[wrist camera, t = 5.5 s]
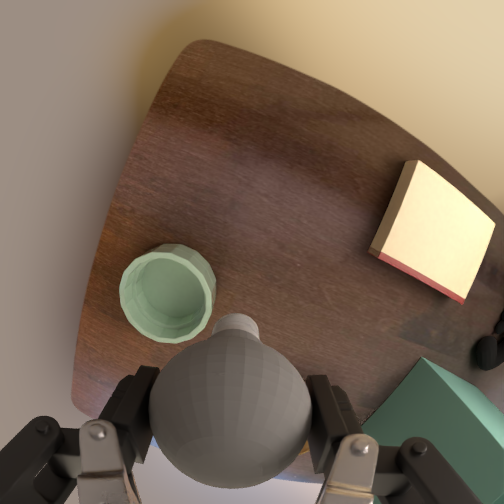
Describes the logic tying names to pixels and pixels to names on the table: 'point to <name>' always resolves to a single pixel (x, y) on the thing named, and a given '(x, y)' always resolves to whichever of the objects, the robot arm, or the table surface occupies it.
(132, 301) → the bowl
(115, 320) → the table surface
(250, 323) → the light bulb
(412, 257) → the book
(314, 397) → the robot arm
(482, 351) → the figurine
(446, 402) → the box
